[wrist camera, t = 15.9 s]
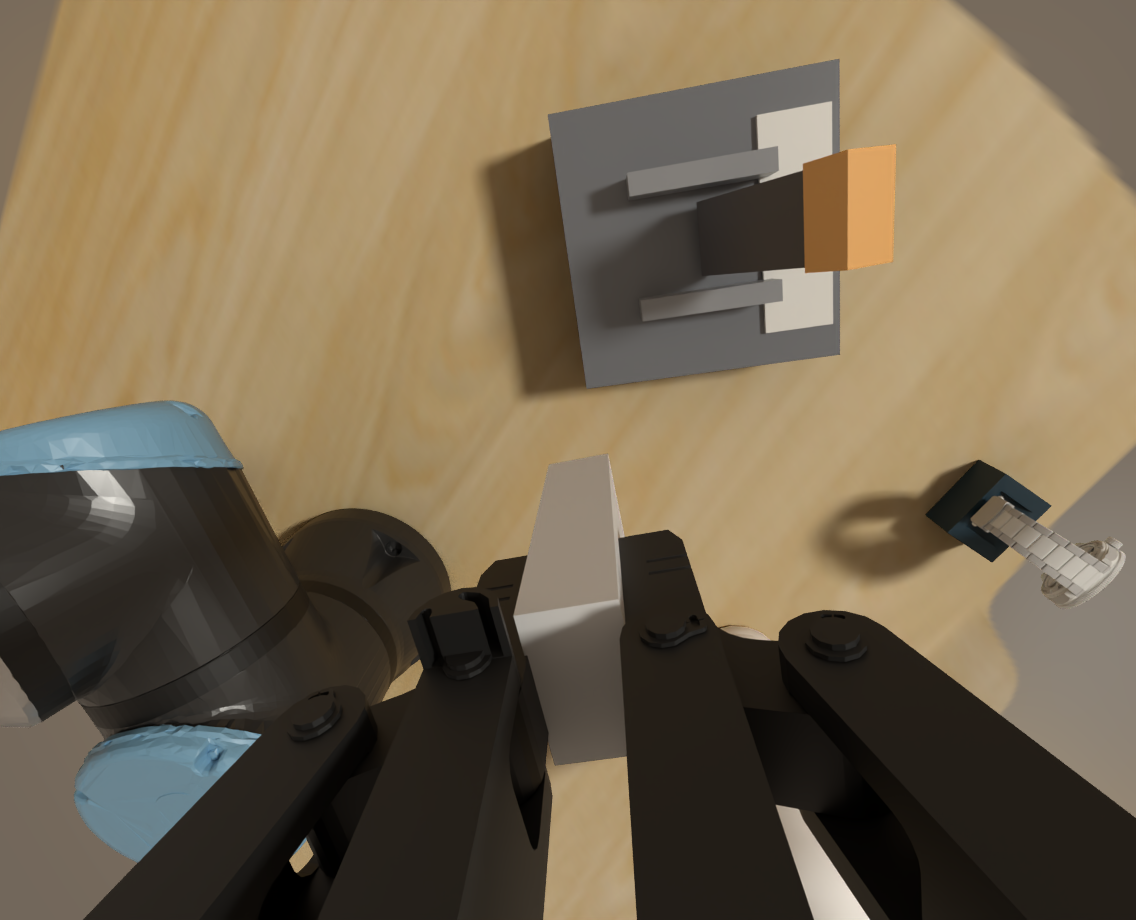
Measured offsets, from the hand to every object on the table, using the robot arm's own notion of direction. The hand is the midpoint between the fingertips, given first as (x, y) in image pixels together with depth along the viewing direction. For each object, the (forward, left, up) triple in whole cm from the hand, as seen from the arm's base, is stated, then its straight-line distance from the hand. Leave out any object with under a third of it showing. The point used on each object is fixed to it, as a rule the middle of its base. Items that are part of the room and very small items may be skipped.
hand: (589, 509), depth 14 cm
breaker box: (+7, +6, -29) cm, 31 cm away
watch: (+27, -16, -30) cm, 43 cm away
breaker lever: (+7, +6, -23) cm, 25 cm away
